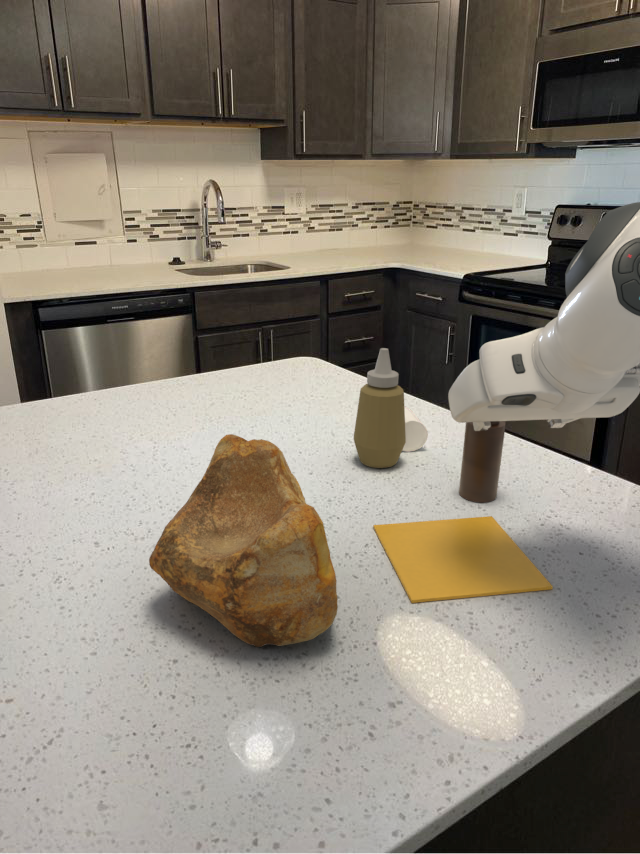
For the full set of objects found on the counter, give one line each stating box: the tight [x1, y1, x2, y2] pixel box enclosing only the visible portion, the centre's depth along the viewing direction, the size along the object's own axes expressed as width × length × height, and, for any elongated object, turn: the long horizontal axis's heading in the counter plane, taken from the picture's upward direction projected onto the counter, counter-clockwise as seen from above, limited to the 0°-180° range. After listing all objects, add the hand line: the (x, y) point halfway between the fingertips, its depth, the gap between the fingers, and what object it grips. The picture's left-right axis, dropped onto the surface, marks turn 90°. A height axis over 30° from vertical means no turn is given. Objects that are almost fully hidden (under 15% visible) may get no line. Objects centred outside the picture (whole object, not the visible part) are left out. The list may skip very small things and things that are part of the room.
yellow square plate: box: [372, 515, 553, 604], centre depth 78 cm, size 16×16×1 cm
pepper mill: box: [458, 421, 506, 504], centre depth 91 cm, size 5×5×14 cm
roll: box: [402, 405, 429, 453], centre depth 112 cm, size 6×12×6 cm, turn 10°
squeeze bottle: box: [353, 347, 406, 469], centre depth 100 cm, size 8×8×18 cm
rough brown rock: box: [148, 433, 339, 648], centre depth 67 cm, size 23×17×15 cm
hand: (516, 423), depth 80 cm, fingers open, 8 cm apart
